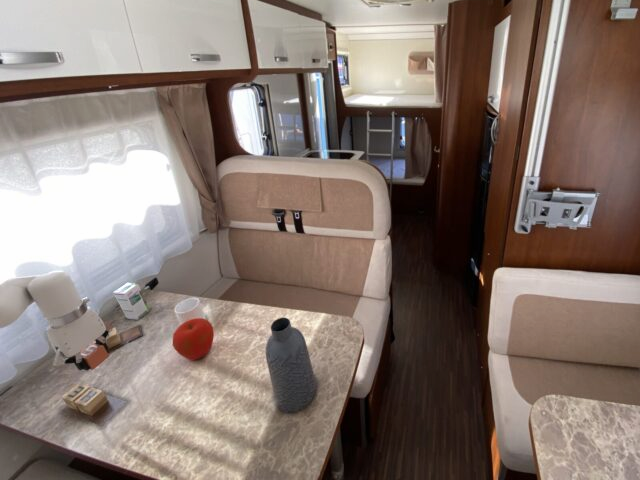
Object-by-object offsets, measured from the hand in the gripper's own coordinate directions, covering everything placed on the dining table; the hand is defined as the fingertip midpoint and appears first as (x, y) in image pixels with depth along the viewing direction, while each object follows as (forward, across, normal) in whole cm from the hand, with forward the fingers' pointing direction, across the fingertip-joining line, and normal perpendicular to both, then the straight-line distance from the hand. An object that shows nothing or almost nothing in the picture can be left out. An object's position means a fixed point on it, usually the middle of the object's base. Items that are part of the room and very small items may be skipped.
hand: (95, 360), depth 89 cm
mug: (+15, -29, +1) cm, 33 cm away
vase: (+15, -12, +57) cm, 60 cm away
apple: (+15, -18, +16) cm, 28 cm away
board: (+15, -14, -20) cm, 29 cm away
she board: (+15, +5, -1) cm, 16 cm away
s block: (0, 0, 0) cm, 0 cm away
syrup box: (+15, -28, -25) cm, 41 cm away
